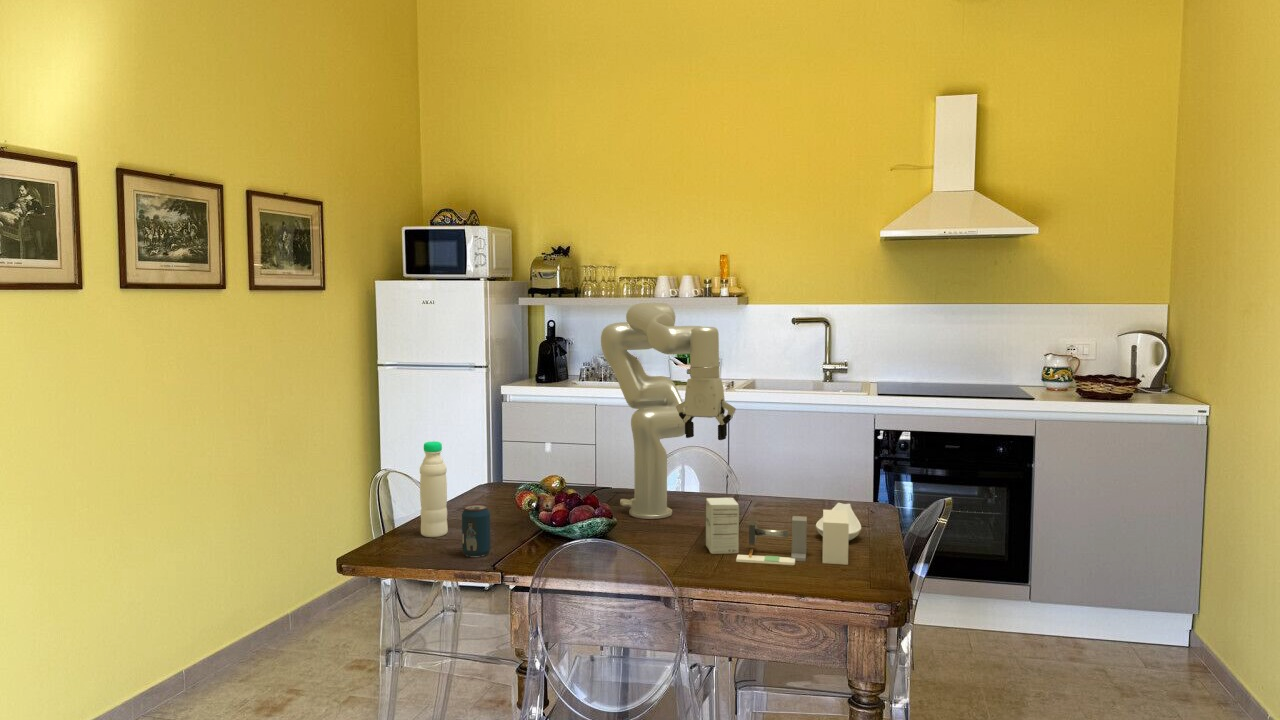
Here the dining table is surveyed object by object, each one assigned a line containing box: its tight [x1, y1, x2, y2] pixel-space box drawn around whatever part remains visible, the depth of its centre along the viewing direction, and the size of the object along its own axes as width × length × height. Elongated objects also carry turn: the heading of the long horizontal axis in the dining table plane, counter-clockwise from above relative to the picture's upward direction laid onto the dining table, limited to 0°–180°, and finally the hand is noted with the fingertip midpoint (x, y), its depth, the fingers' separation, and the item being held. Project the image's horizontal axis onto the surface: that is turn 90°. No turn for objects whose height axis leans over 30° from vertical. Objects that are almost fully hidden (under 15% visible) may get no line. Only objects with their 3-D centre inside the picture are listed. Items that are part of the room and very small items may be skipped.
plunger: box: [748, 518, 789, 556], centre depth 226 cm, size 10×10×6 cm
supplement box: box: [705, 497, 740, 555], centre depth 230 cm, size 7×7×13 cm
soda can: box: [461, 503, 492, 557], centre depth 227 cm, size 7×7×12 cm
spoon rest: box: [815, 502, 862, 542], centre depth 247 cm, size 24×12×7 cm, turn 162°
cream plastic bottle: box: [419, 440, 449, 538], centre depth 244 cm, size 7×7×25 cm
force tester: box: [735, 509, 849, 566], centre depth 226 cm, size 26×16×10 cm, turn 78°
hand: (705, 438), depth 241 cm, fingers open, 9 cm apart
